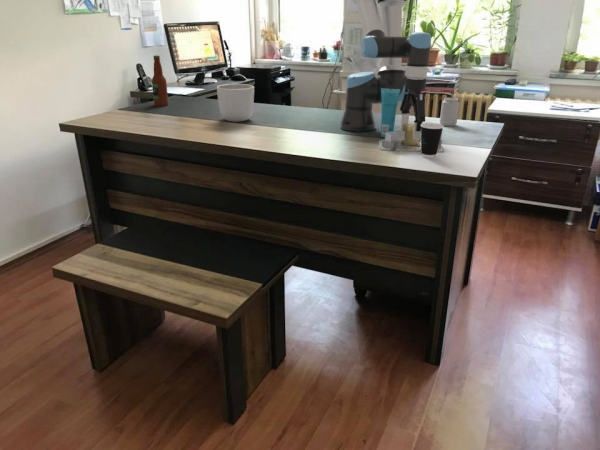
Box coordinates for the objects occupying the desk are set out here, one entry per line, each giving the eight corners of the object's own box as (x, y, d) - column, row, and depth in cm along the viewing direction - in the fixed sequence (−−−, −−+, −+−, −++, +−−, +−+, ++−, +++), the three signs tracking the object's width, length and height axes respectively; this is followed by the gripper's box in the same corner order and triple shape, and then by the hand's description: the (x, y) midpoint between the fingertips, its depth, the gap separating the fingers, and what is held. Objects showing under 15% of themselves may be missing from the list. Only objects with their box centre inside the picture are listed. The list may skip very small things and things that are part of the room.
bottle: (157, 103, 267) (152, 54, 257) (170, 104, 266) (165, 55, 256) (152, 106, 260) (146, 56, 250) (165, 106, 260) (160, 56, 250)
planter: (247, 115, 241) (246, 83, 235) (260, 122, 227) (259, 88, 221) (213, 118, 234) (212, 84, 228) (224, 125, 220) (223, 90, 214)
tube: (395, 135, 206) (399, 88, 198) (396, 138, 201) (400, 89, 194) (377, 134, 207) (380, 87, 199) (377, 137, 202) (381, 89, 195)
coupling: (405, 144, 188) (407, 126, 186) (401, 141, 193) (402, 123, 190) (418, 144, 189) (420, 126, 186) (413, 141, 194) (415, 123, 191)
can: (457, 127, 222) (460, 100, 217) (439, 126, 223) (443, 99, 219) (455, 123, 229) (459, 97, 224) (438, 122, 230) (442, 96, 225)
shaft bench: (380, 150, 184) (381, 134, 181) (378, 141, 196) (380, 126, 194) (443, 152, 182) (445, 136, 179) (438, 143, 194) (440, 128, 192)
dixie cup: (413, 156, 177) (416, 125, 173) (424, 151, 183) (427, 122, 178) (433, 160, 172) (437, 128, 168) (443, 155, 178) (447, 125, 174)
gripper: (439, 83, 171) (431, 143, 180) (413, 72, 193) (407, 126, 202) (418, 83, 170) (412, 143, 179) (395, 73, 192) (390, 127, 201)
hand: (409, 134), depth 190 cm, fingers open, 13 cm apart
